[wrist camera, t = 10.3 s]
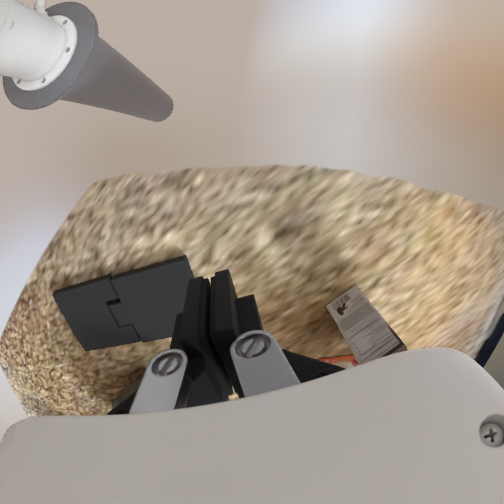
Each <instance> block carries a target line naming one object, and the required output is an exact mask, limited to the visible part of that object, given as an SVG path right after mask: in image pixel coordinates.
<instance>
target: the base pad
mask: <svg viewBox="0 0 504 504" xmlns="http://www.w3.org/2000/svg"><path fill="white" fill-rule="evenodd" d="M111 279H112V275H111V274H110V275H107V276H103V277H100V278H96V279H93V280H89V281H86V282H83V283H79V284H76V285H73V286H69V287H66V288H63V289H60V290H56V291H55V292H54V293H53V297H54V299H55V301H56V303H57V305H58V306H59V308H60V310H61V312H62V314H63V315H64V317H65V319H66V321H67V322H68V324H69V326H70V327H71V329H72V331H73V332H74V334H75V336H76V337H77V339H78V340H79V342H80V344H81V345H82V347H83V348H84V350H85V351H89V350H95V349H101V348H107V347H113V346H119V345H124V344H130V343H135V342H140V341H141V339H140V337H139V335H138V333H137V332H136V330H135V328H134V326H133V324H129V325H124V326H119V324H118V322H117V320H116V319H115V317H114V315H113V313H112V311H111V309H110V307H109V304H110V301H109V300H113V299H117V298H118V295H117V293H116V291H115V289H114V286H113V284H112V282H111Z"/></svg>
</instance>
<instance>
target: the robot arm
mask: <svg viewBox="0 0 504 504" xmlns="http://www.w3.org/2000/svg"><path fill="white" fill-rule="evenodd" d="M45 3H46V1H45V0H38V1H36V2H35V4H34V10H33V9H31V8H30V7H28V6H26V5H24V4H22V3H20V2H19V1H17V0H0V75H2V76H7V77H12V78H13V81H14V83H15V84H16V86H17V87H19V88H20V89H22V90H26V91H35V90H39V89H42V88H44V87H45V86H47V85H49V84H50V83H51V82H53V81H54V80H55V79H56V78H57V77H58V76H59V75H60V74H61V73H62V71H63V70H64V69H65V68H66V66H67V65H68V63H69V61H70V60H71V58H72V55H73V53H74V51H75V48H76V44H77V29H76V26H75V24H74V22H73V21H71V20H70V19H69V18H67V17H65V16H61V15H55V16H51V17H49V16H48V15H47V12H46V11H45V8H46V5H45ZM232 385H233V388H234V390H235V392H236V393H237V394H238V396H239V398H240V399H235V400H230V401H229V398H228V395H233V389H232ZM0 504H504V390H503V389H502V388H501V387H500V385H499V384H498V383H497V382H496V381H495V380H494V379H493V378H492V377H491V375H490V374H489V373H488V372H486V371H485V370H484V369H483V368H482V367H481V366H480V365H479V364H478V363H477V362H475V361H474V360H473V359H472V358H470V357H469V356H467V355H466V354H464V353H462V352H460V351H458V350H455V349H451V348H447V347H429V348H421V349H413V350H408V351H404V352H399V353H395V354H392V355H388V356H385V357H382V358H378V359H375V360H372V361H370V362H367V363H364V364H361V365H358V366H355V367H352V368H349V369H345V368H343V367H341V366H337V365H333V364H330V363H326V362H323V361H319V360H316V359H312V358H309V357H305V356H302V355H299V354H295V353H292V352H289V351H286V350H283V349H281V348H280V346H279V344H278V343H277V341H276V339H275V337H274V336H273V335H272V334H271V333H269V332H267V331H264V330H263V326H262V322H261V318H260V315H259V311H258V308H257V304H256V301H255V297H254V294H252V295H248V296H245V297H241V298H237V295H236V291H235V288H234V285H233V282H232V279H231V275H230V272H229V270H228V269H227V270H223V271H219V272H215V276H214V277H211V285H210V282H209V280H208V278H206V279H203V277H202V276H200V277H197V278H193V279H189V282H188V287H187V293H186V299H185V304H184V310H183V312H181V313H177V315H176V319H175V325H174V330H173V335H172V341H171V347H170V349H169V350H165V351H162V352H160V353H159V354H157V355H156V356H154V357H153V358H152V359H151V361H150V362H149V364H148V366H147V368H146V371H145V373H144V376H143V378H142V381H141V383H140V386H139V388H138V390H136V391H135V392H134V393H133V394H131V395H130V396H129V397H128V398H126V399H125V400H124V401H123V402H121V403H120V404H119V405H118V406H116V407H115V408H114V409H112V410H111V411H110V412H109V413H108V414H107V415H90V416H74V415H63V416H48V415H47V416H36V417H31V418H27V419H24V420H21V421H19V422H17V423H15V424H13V425H12V426H10V427H9V428H8V430H7V431H6V433H5V434H4V436H3V438H2V440H1V442H0Z"/></svg>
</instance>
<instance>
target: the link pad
mask: <svg viewBox="0 0 504 504" xmlns="http://www.w3.org/2000/svg"><path fill="white" fill-rule="evenodd" d="M193 278H194V276H193V273H192V270H191V268H190V265H189V262H188V259H187V256H186V255H185V256H181V257H178V258H174V259H171V260H167V261H163V262H160V263H156V264H153V265H149V266H146V267H142V268H139V269H135V270H132V271H128V272H125V273H121V274H118V275H114V276H113V277H112V279H111V282H112V284H113V286H114V289H115V291H116V293H117V295H118V297H119V299H117V300H113V301H111V302H110V304H109V307H110V309H111V311H112V313H113V315H114V317H115V319H116V320H117V322H118V324H119V326H124V325H129V324H133V326H134V328H135V330H136V332H137V333H138V335H139V337H140V339H141V341H142V342H148V341H154V340H159V339H163V338H168V337H172V335H173V330H174V325H175V319H176V315H177V313H181V312H183V310H184V304H185V299H186V293H187V287H188V282H189V279H193Z"/></svg>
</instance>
